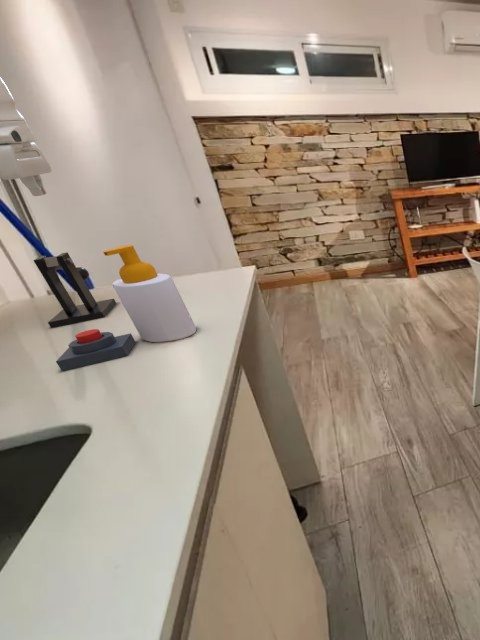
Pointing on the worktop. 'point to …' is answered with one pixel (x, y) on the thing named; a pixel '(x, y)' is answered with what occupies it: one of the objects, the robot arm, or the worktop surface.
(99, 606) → the worktop surface
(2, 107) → the robot arm
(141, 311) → the soap bottle
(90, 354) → the button block
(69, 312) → the black stand
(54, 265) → the lever
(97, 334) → the button
